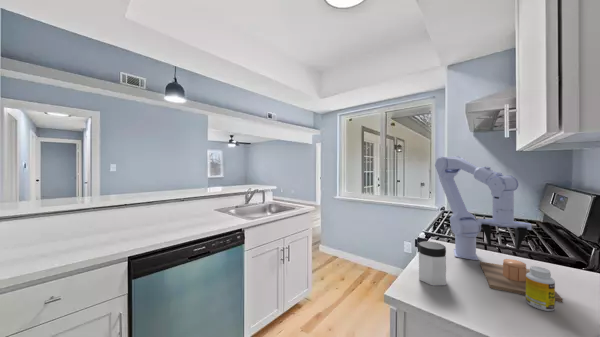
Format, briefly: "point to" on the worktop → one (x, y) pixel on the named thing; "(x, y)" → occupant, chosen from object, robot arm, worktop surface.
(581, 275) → the worktop surface
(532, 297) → the supplement bottle
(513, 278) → the brown rounded block
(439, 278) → the jar
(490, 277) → the post board
